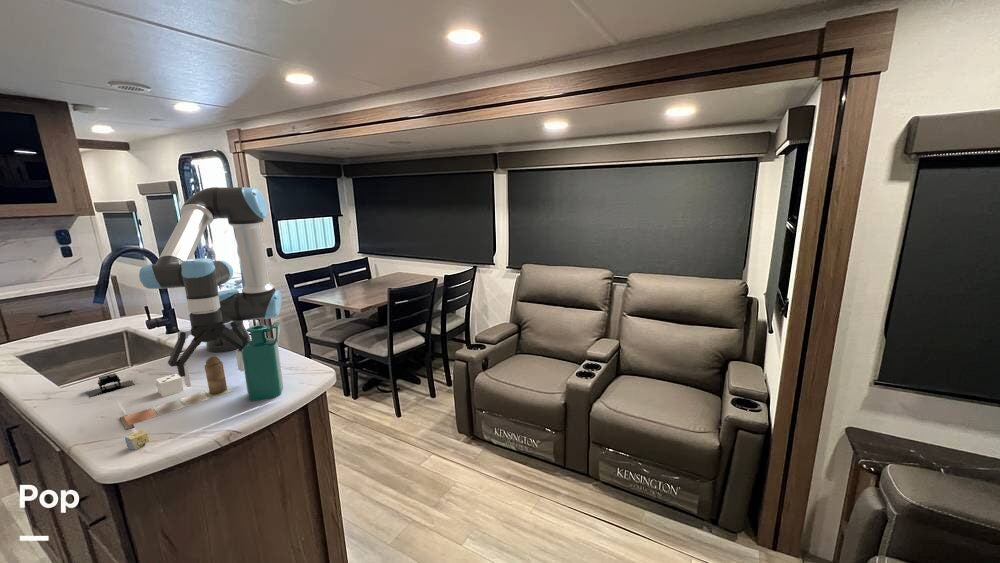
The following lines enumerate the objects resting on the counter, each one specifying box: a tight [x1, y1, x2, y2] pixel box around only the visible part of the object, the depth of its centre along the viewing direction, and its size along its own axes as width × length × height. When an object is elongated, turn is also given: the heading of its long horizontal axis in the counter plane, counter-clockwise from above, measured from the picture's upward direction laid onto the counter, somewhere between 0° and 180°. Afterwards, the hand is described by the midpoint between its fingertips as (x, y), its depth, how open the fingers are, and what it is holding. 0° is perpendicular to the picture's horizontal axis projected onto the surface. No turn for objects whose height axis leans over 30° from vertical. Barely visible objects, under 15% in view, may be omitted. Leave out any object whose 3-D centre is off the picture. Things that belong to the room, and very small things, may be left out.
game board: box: [119, 385, 234, 431], centre depth 110 cm, size 25×9×1 cm, turn 142°
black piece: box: [85, 372, 136, 399], centre depth 120 cm, size 13×8×5 cm, turn 144°
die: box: [155, 373, 184, 398], centre depth 117 cm, size 5×5×5 cm
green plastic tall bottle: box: [242, 321, 284, 402], centre depth 113 cm, size 10×8×22 cm
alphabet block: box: [124, 430, 150, 451], centre depth 91 cm, size 3×3×3 cm
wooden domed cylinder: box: [204, 356, 228, 394], centre depth 116 cm, size 4×4×11 cm
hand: (215, 377), depth 116 cm, fingers open, 13 cm apart
